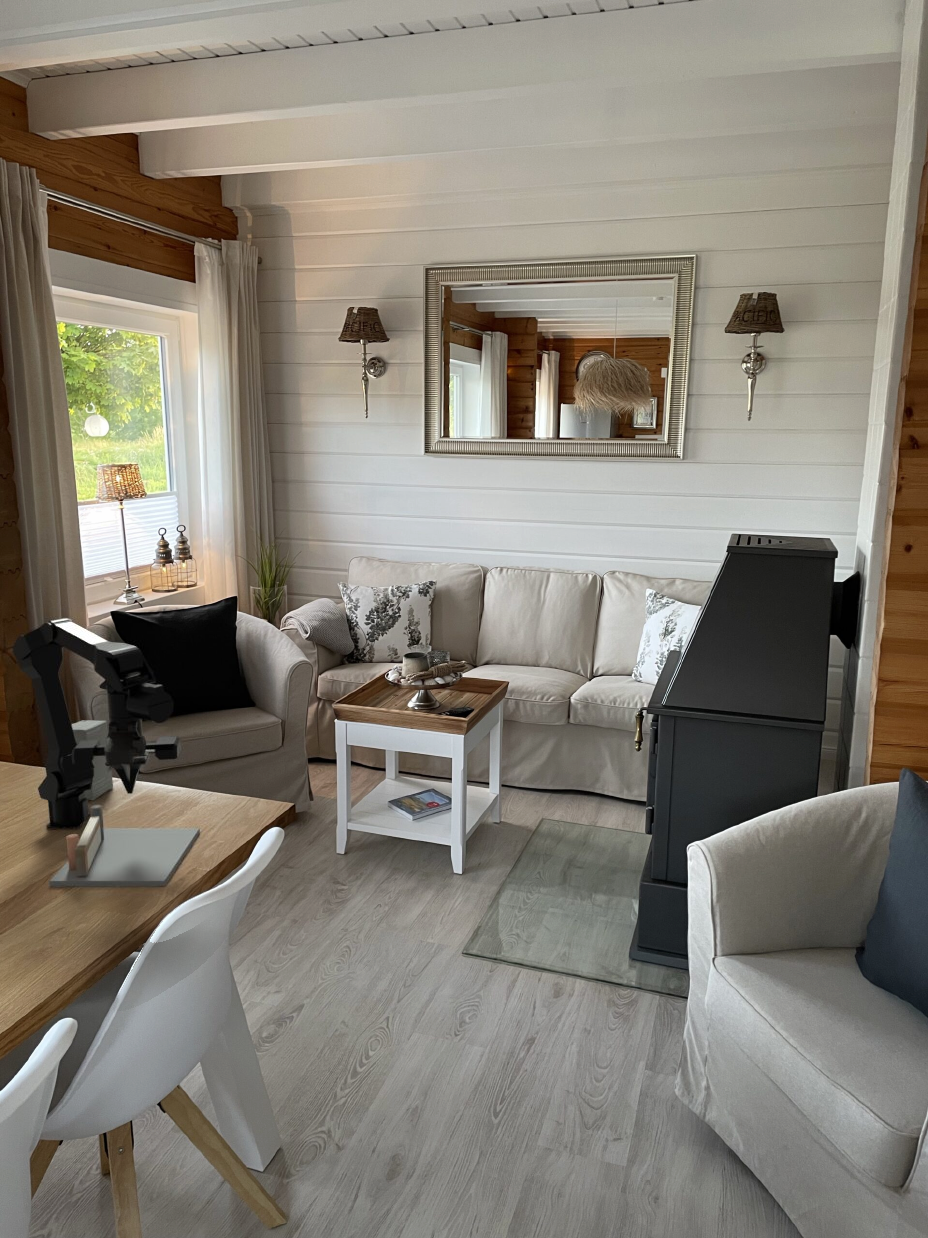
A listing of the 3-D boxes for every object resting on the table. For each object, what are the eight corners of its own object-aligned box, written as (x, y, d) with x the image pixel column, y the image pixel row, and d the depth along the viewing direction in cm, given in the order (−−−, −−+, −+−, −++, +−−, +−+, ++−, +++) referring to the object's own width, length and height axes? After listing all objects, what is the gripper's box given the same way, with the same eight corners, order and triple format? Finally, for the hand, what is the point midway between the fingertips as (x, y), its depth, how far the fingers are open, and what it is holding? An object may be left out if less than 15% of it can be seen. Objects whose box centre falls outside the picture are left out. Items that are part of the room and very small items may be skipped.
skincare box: (93, 801, 195) (87, 731, 192) (63, 799, 197) (57, 729, 194) (115, 787, 203) (110, 719, 200) (87, 784, 205) (81, 717, 202)
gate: (92, 841, 173) (90, 816, 172) (101, 840, 173) (99, 816, 172) (76, 876, 159) (74, 849, 158) (86, 875, 159) (84, 849, 158)
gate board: (49, 886, 158) (46, 846, 156) (98, 833, 179) (95, 797, 178) (164, 886, 158) (162, 846, 157) (199, 833, 180) (197, 797, 178)
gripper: (60, 729, 160) (67, 812, 163) (170, 724, 163) (175, 806, 166) (76, 711, 170) (82, 789, 174) (179, 707, 174) (183, 784, 177)
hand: (130, 792), depth 172 cm, fingers closed
